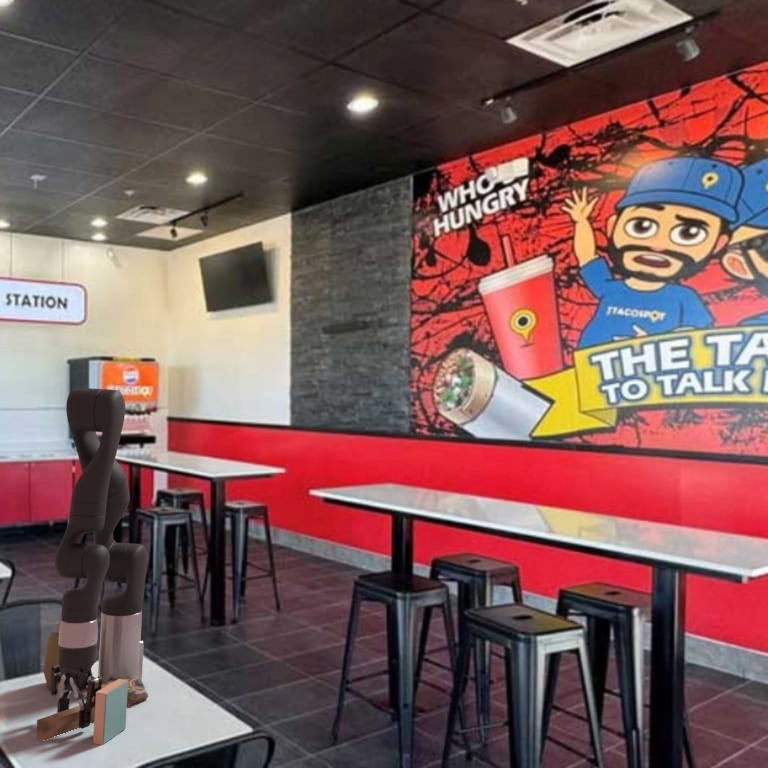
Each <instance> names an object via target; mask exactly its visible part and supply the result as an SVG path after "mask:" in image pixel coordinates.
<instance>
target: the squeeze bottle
mask: <svg viewBox="0 0 768 768" xmlns="http://www.w3.org/2000/svg"><path fill="white" fill-rule="evenodd" d="M60 624H61V616H60V617H59V621H58V622H55V623H54V625H53V632H52V633H51V634H50V635H48V640H47V646H46V653H45V658H44V663H43V664H44V665H43V671H42V672H43V675H44V679H45V682H46V685H47V687H48V688H49V689H51V667H52V666H55V665H58V664H57V658H58V643H59V629H60ZM58 686H59V682H58V683H57V684H56V688H58Z"/></svg>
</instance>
